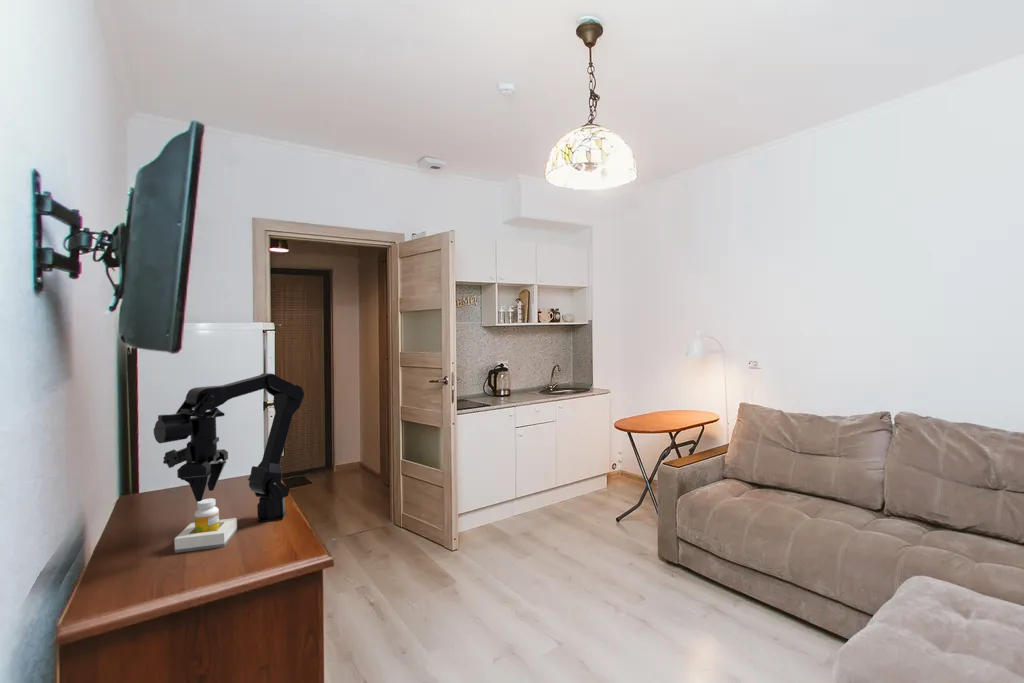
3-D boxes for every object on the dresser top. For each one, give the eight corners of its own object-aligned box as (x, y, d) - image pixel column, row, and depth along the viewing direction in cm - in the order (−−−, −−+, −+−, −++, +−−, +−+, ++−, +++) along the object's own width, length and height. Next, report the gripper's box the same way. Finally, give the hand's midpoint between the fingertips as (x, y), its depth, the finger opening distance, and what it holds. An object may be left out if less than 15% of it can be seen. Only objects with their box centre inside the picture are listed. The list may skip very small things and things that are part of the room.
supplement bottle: (190, 540, 126) (189, 502, 126) (211, 532, 131) (210, 496, 131) (203, 543, 124) (201, 505, 124) (224, 535, 129) (222, 499, 129)
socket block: (237, 530, 134) (236, 517, 134) (224, 546, 124) (224, 532, 124) (191, 535, 131) (191, 522, 131) (174, 553, 121) (174, 538, 121)
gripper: (182, 431, 134) (184, 488, 134) (151, 445, 116) (153, 511, 116) (227, 428, 137) (229, 484, 137) (204, 441, 119) (206, 505, 119)
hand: (205, 495), depth 127 cm, fingers open, 9 cm apart
